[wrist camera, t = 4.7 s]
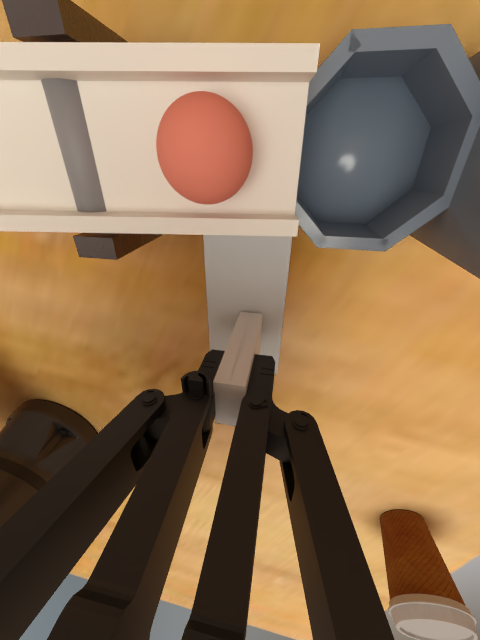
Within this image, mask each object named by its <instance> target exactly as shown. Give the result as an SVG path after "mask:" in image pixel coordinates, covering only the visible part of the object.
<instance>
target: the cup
mask: <svg viewBox="0 0 480 640" xmlns="http://www.w3.org/2000/svg"><path fill="white" fill-rule="evenodd" d="M295 216H296V217H297V218H298V219H299V226H300V227H301V228H302V230H303V231H304V232H305V233H306V234H307V236H308V237H309V238H310V239H311V241H312V242H313V243H314V244H315V245H316V247H317V248H335V249H353V250H370V251H386V250H388V249H389V248H391V247H392V246H393V245H395V244H396V243H398V242H399V241H401V240H402V239H404V238H405V237H407V236H408V235H410V236H412V237H413V238H415V239H417V240H418V241H420V242H422V243H423V244H425V245H426V246H428V247H430V248H431V249H433V250H434V251H436V252H438V253H439V254H441V255H442V256H444V257H446V258H447V259H449V260H450V261H452V262H454V263H455V264H457V265H458V266H460V267H462V268H463V269H465V270H467V271H468V272H470V273H471V274H473V275H475V276H476V277H478V278H479V279H480V52H478V53H477V54H475V55H473V56H472V57H470V58H468V57H467V55H466V53H465V51H464V49H463V47H462V45H461V43H460V41H459V39H458V37H457V35H456V33H455V31H454V29H453V27H452V25H451V24H442V25H424V26H406V27H388V28H370V29H352V30H351V31H350V32H349V33H348V35H347V36H346V37H345V38H344V39H343V40H342V42H341V43H340V44H339V45H338V46H337V47H336V49H335V50H334V51H333V52H332V53H331V54H330V56H329V57H328V58H327V59H326V60H325V61H324V62H323V64H322V65H321V66H320V67H319V68H318V69H317V72H316V74H315V75H314V77H313V78H312V79H311V81H310V82H309V88H308V97H307V107H306V116H305V125H304V134H303V143H302V152H301V162H300V171H299V180H298V189H297V198H296V207H295Z"/></svg>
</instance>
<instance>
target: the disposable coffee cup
mask: <svg viewBox="0 0 480 640" xmlns="http://www.w3.org/2000/svg"><path fill="white" fill-rule="evenodd" d="M380 524H381V532H382V540H383V548H384V556H385V564H386V572H387V580H388V588H389V595H390V601H389V608H388V612H389V614H390V616H391V617H392V618H393V620H394V623H395V626H396V628H397V630H398V631H399V632H401V633H402V634H404V635H406V636H408V637H411V638H413V639H416V640H477V639H478V636H477V632H476V627H475V626H476V619H475V617H474V616H473V615H472V614H471V613H470V611H469V609H468V608H467V607H466V606H465V604H464V602H463V599H462V597H461V595H460V593H459V591H458V589H457V587H456V585H455V583H454V581H453V579H452V577H451V575H450V573H449V571H448V569H447V567H446V564H445V563H444V560H443V558H442V556H441V554H440V552H439V550H438V548H437V546H436V544H435V542H434V540H433V538H432V536H431V534H430V532H429V530H428V527H427V525H426V523H425V521H424V519H423V518H422V516H420V515H419V514H417V513H415V512H412V511H407V510H392V511H388V512H385V513H384V514H382V515H381V516H380Z"/></svg>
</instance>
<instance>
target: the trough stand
mask: <svg viewBox="0 0 480 640" xmlns="http://www.w3.org/2000/svg"><path fill="white" fill-rule="evenodd" d="M2 2H3V5H4V9H5V12H6V15H7V19H8V22H9V25H10V29H11V32H12V35H13V37H14V38H16V39H18V40H20V41H23V42H116V43H128V42H127V41H126V40H124V39H123V38H122V37H120V36H119V35H117V34H116V33H115V32H113V31H112V30H111V29H109V28H108V27H106V26H105V25H104V24H102V23H101V22H100V21H98V20H97V19H95V18H94V17H93V16H91V15H90V14H89V13H87V12H86V11H84V10H83V9H82V8H80V7H79V6H78V5H76V4H75V3H74V2H72V1H71V0H2ZM161 235H163V234H132V233H81V234H78V235H75V236H73V237H74V241H75V244H76V247H77V251H78V254H79V257H87V258H101V259H115V260H117V259H119V258H121V257H123V256H125V255H126V254H128V253H130V252H132V251H134V250H136V249H137V248H139V247H141V246H143V245H145V244H147V243H149V242H150V241H152V240H154V239H156V238H158V237H160V236H161Z"/></svg>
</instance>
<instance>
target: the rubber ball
mask: <svg viewBox="0 0 480 640" xmlns="http://www.w3.org/2000/svg"><path fill="white" fill-rule="evenodd" d="M156 151H157V157H158V161H159V165H160V168H161V170H162V172H163V174H164V176H165V178H166V180H167V181H168V183H169V184H170V185H171V186H172V188H173V189H174V190H175V191H176V192H178V193H179V194H180V195H181V196H183V197H184V198H186V199H188V200H190V201H192V202H195V203H199V204H208V205H209V204H217V203H220V202H223V201H225V200H227V199H229V198H231V197H232V196H233V195H234V194H236V193H237V192H238V191H239V190H240V188H241V187H242V186H243V184H244V183H245V181H246V179H247V177H248V175H249V172H250V169H251V165H252V158H253V145H252V139H251V135H250V131H249V128H248V125H247V123H246V121H245V120H244V118H243V116H242V114H241V113H240V112H239V110H238V109H237V108H236V107H235V106H234V105H233V104H232V103H231V102H230V101H228V100H227V99H225V98H224V97H222V96H220V95H218V94H215V93H212V92H207V91H195V92H190V93H187V94H185V95H183V96H181V97H179V98H178V99H176V100H175V101H174V102H173V103H172V104H171V105H170V106H169V107H168V108H167V110H166V111H165V113H164V114H163V116H162V119H161V121H160V123H159V127H158V131H157V138H156Z"/></svg>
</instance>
